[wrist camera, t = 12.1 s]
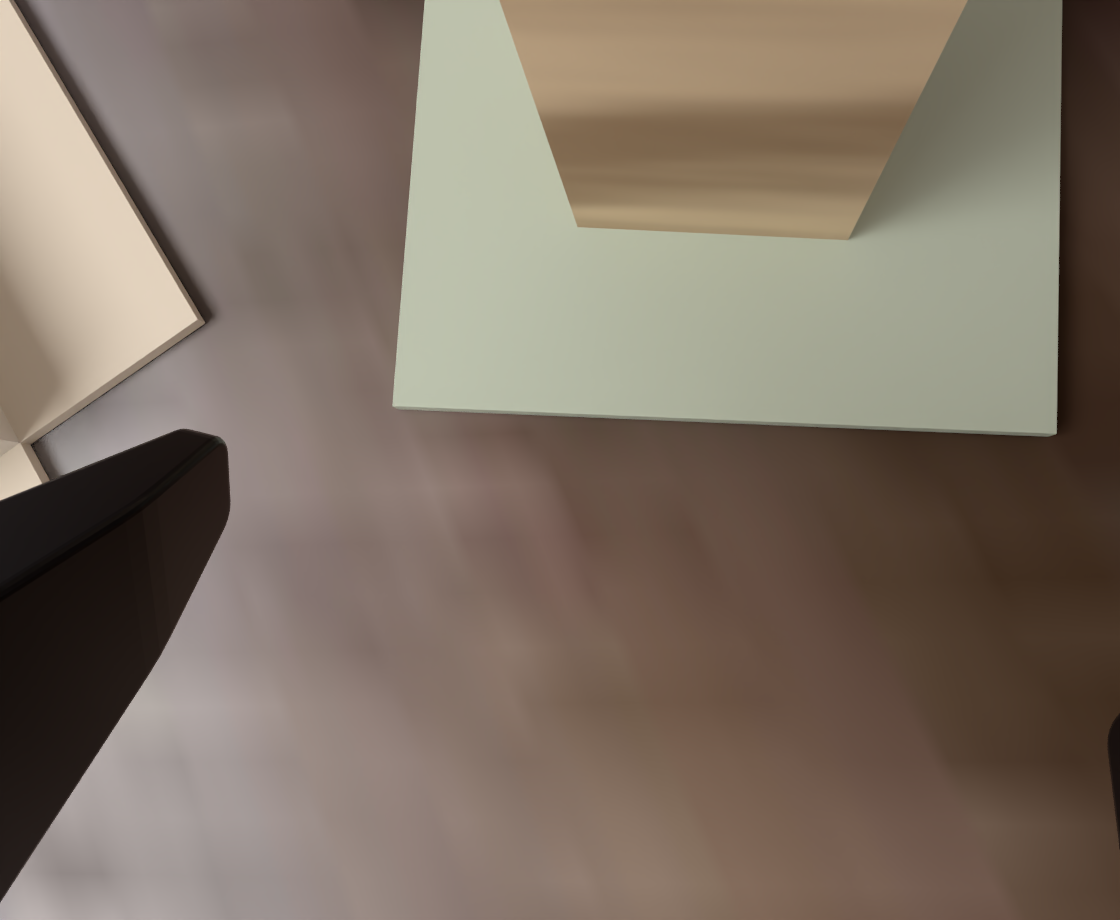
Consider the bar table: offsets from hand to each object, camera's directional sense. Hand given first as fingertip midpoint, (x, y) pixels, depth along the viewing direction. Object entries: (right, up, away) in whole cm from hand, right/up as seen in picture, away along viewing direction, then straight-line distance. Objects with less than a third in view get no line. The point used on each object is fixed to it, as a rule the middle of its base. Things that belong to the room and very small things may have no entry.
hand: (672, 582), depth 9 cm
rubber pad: (+2, +8, +9) cm, 12 cm away
